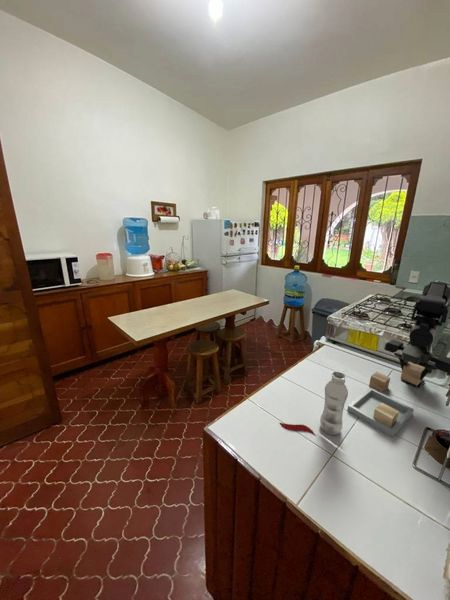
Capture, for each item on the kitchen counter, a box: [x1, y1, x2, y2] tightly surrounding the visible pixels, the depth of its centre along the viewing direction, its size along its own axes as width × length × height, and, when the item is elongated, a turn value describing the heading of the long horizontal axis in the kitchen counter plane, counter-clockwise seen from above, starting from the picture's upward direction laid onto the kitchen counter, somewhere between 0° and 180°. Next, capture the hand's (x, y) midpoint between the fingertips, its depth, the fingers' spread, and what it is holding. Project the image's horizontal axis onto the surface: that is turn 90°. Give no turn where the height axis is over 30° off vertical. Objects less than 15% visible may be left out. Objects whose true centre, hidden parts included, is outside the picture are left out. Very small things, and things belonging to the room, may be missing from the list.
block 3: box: [400, 362, 425, 385], centre depth 86 cm, size 5×5×5 cm
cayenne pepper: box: [279, 422, 316, 436], centre depth 78 cm, size 12×5×2 cm, turn 55°
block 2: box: [373, 403, 399, 428], centre depth 79 cm, size 5×5×5 cm
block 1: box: [368, 371, 391, 393], centre depth 97 cm, size 5×5×5 cm
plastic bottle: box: [319, 371, 349, 436], centre depth 75 cm, size 6×7×20 cm
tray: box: [347, 387, 415, 438], centre depth 84 cm, size 16×14×2 cm
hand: (412, 376), depth 87 cm, fingers closed on block 3, 5 cm apart
